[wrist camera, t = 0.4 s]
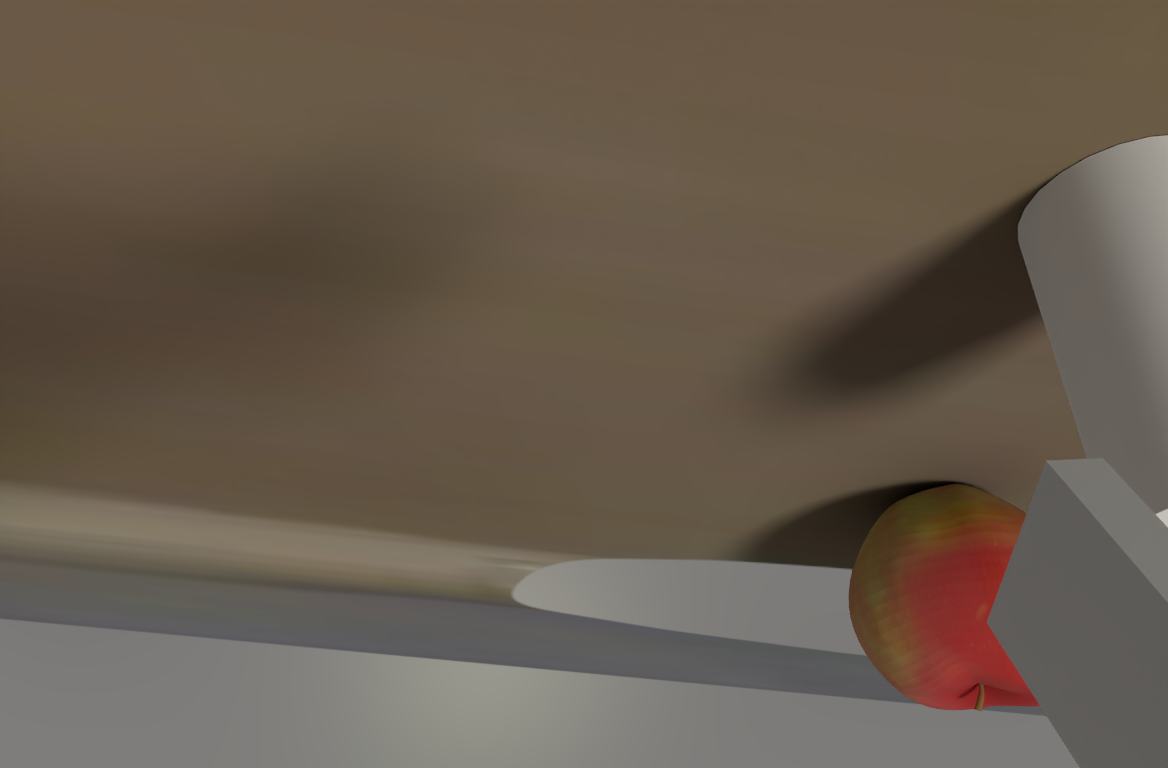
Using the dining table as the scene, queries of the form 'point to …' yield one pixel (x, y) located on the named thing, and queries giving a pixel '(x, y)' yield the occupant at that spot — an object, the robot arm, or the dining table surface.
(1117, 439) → the candle
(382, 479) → the dining table surface
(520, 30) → the dining table surface
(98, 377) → the dining table surface
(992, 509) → the apple
